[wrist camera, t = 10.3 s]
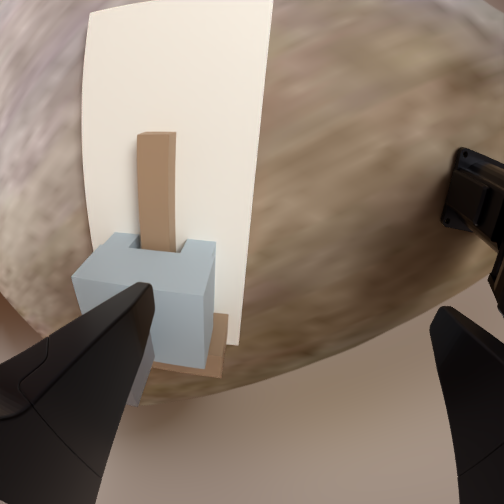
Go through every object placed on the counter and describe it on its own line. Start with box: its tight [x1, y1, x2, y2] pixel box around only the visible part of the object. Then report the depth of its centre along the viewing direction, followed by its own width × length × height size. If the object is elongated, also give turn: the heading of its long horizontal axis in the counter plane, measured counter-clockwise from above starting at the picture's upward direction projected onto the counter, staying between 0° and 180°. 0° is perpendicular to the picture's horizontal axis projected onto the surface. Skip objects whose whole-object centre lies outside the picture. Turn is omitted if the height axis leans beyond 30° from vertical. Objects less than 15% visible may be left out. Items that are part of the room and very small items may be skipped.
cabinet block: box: [71, 232, 216, 407], centre depth 17 cm, size 8×6×10 cm
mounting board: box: [82, 0, 273, 378], centre depth 17 cm, size 12×26×6 cm, turn 175°
